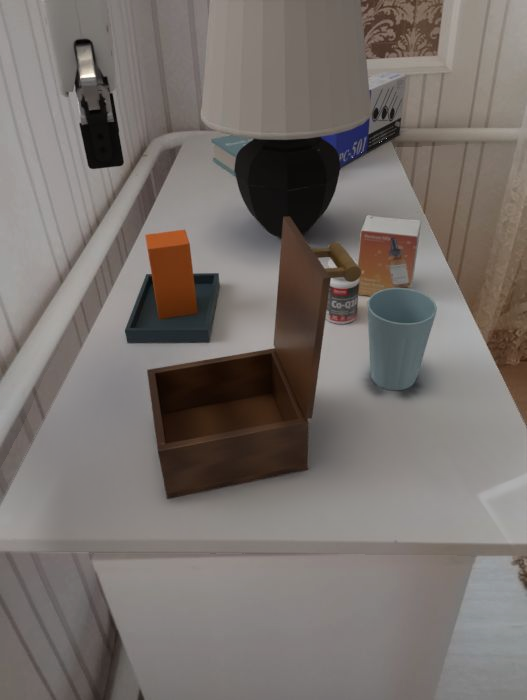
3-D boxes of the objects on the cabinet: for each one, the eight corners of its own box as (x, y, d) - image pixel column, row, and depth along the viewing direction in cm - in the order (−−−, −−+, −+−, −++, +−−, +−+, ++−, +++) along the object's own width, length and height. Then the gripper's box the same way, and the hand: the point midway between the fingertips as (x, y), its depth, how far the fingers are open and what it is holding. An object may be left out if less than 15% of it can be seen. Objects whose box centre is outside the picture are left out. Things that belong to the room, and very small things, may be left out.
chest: (167, 499, 60) (157, 451, 55) (155, 415, 69) (146, 369, 65) (308, 469, 62) (308, 422, 58) (277, 393, 72) (276, 347, 68)
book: (213, 161, 138) (211, 139, 135) (274, 148, 144) (273, 126, 141) (259, 193, 122) (258, 168, 119) (325, 177, 128) (326, 153, 125)
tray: (209, 342, 81) (207, 329, 79) (127, 342, 81) (124, 330, 80) (219, 284, 93) (218, 272, 92) (148, 285, 93) (146, 273, 92)
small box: (354, 295, 89) (359, 230, 83) (361, 277, 93) (365, 213, 87) (409, 302, 87) (418, 236, 81) (413, 283, 91) (422, 219, 85)
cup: (351, 384, 73) (356, 312, 66) (375, 351, 78) (382, 281, 72) (411, 404, 69) (423, 330, 63) (432, 368, 75) (445, 297, 68)
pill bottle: (330, 327, 83) (332, 274, 78) (318, 309, 86) (319, 257, 81) (362, 321, 83) (366, 268, 78) (349, 304, 87) (352, 252, 82)
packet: (159, 319, 84) (147, 249, 78) (156, 303, 88) (145, 234, 81) (197, 313, 85) (189, 243, 79) (193, 297, 89) (185, 229, 82)
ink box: (335, 171, 130) (338, 103, 122) (310, 166, 133) (311, 98, 125) (401, 135, 149) (408, 73, 140) (377, 130, 152) (382, 70, 144)
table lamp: (203, 270, 97) (172, -19, 73) (218, 203, 118) (198, -37, 94) (372, 268, 95) (397, -28, 72) (356, 200, 117) (371, -44, 93)
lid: (323, 278, 49) (381, 274, 50) (283, 216, 59) (332, 214, 60) (305, 419, 58) (355, 413, 59) (273, 345, 67) (316, 340, 69)
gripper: (25, -63, 55) (68, 128, 65) (5, -55, 41) (63, 186, 51) (108, -67, 56) (137, 121, 66) (116, -60, 42) (151, 176, 53)
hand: (105, 149), depth 59 cm, fingers open, 9 cm apart
